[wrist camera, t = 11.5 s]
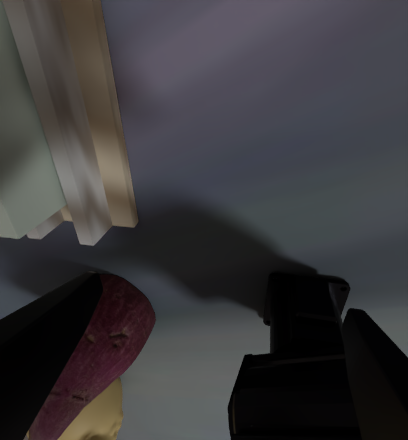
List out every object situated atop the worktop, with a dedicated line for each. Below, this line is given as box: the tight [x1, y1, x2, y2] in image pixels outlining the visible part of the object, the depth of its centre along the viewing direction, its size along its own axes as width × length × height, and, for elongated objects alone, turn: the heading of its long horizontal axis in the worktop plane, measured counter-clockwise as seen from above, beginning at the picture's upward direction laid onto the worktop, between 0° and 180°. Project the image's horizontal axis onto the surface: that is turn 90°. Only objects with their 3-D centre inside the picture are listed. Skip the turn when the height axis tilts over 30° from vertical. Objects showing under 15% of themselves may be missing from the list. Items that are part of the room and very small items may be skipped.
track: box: [0, 0, 139, 246], centre depth 19 cm, size 18×10×4 cm, turn 1°
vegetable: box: [29, 274, 156, 440], centre depth 27 cm, size 10×10×15 cm
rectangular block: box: [0, 1, 67, 239], centre depth 17 cm, size 12×2×7 cm, turn 2°
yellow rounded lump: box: [27, 377, 123, 440], centre depth 36 cm, size 11×12×11 cm
